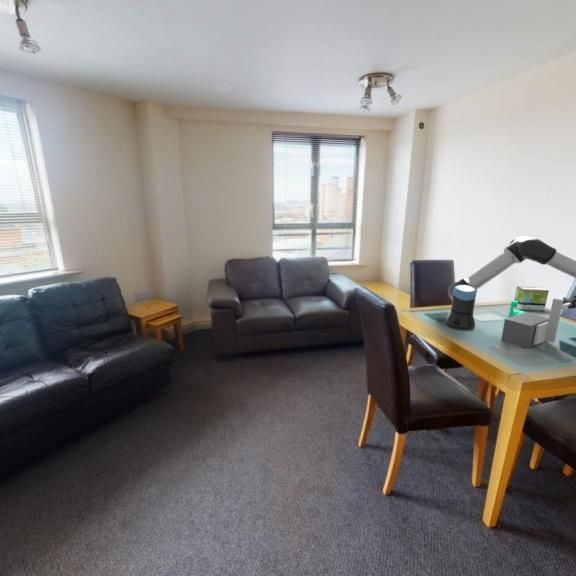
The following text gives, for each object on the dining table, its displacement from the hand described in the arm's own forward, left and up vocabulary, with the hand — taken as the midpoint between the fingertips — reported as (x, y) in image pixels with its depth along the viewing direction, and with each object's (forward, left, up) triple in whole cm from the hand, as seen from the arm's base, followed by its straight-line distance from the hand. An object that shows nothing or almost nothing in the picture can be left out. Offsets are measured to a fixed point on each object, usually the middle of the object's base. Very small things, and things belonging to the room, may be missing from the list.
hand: (563, 307), depth 162 cm
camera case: (-16, +2, -19) cm, 24 cm away
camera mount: (+6, +39, -19) cm, 44 cm away
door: (-11, -6, -17) cm, 21 cm away
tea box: (+26, +56, -19) cm, 65 cm away
